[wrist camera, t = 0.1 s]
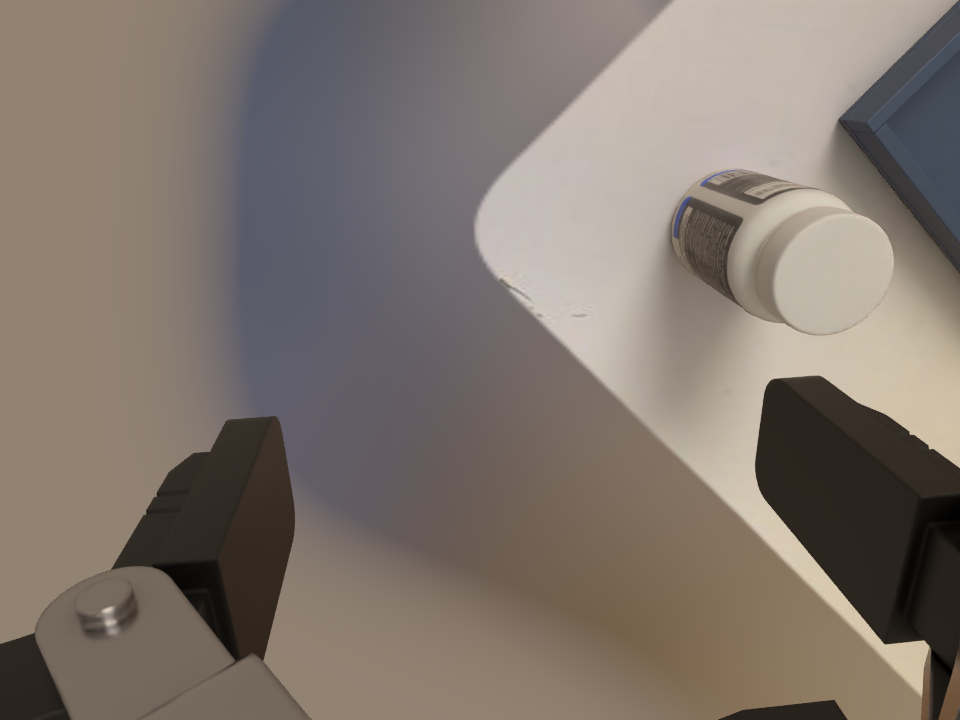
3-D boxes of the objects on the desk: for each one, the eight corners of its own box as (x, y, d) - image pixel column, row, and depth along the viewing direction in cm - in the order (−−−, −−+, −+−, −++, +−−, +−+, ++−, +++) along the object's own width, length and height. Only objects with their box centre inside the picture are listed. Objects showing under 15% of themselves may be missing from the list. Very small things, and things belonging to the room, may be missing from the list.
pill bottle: (721, 299, 31) (825, 375, 23) (646, 234, 30) (730, 293, 22) (800, 213, 30) (937, 263, 22) (726, 142, 28) (844, 169, 21)
